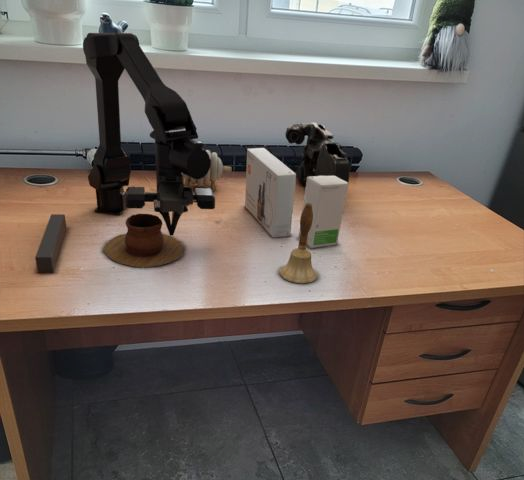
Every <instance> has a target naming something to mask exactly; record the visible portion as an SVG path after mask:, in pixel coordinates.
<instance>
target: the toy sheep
mask: <svg viewBox="0 0 524 480" xmlns="http://www.w3.org/2000/svg"><path fill="white" fill-rule="evenodd" d="M203 150H205V151H206V152H207V153H208V155H209V157H210V160H211V166H210V169H209V171H208V173H207V174H206V176H204V177H203V178H201V179H193V178H191V177H189V176H187V175H185V174H184V184H185V187H191V184H192V185H196V184H197V186H198V188H203V187H209V186H210V188H211V190H212V191H213V192H214V191H216V181H217V180H219V179H220V178H221V176H222V175H223V173H231V172H232V171H233V170H232V167H231V166H228V165H227V166H226V165H224V164H223V162H222V160H221V158H220V157H219V156H218V153H217V152H214V151H213V152H211V150H210V149H204V148H203Z"/></svg>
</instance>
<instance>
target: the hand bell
mask: <svg viewBox="0 0 524 480" xmlns="http://www.w3.org/2000/svg"><path fill="white" fill-rule="evenodd" d="M302 210H303V211H301V214H300V219H299V230H300V229H301V235H300V239H298V245H297V247H295V248H293V249H292V250H291V251H290V254H289V258H288V261H287V263H286V264H285V265H283V266H282V267H281V269H280V270H279V275H280V277H281V278H283V279H284V280H286V281H288V282H290V283H295V284H308V283H309V284H310V283H312V282H314V281H316V280H317V278H318V273H317V271H316V270H315V269H314V267H313V262H312V252H311V251H310V250H309V249H307V237H308V232H309V230H310V228H311V226H312V221H313V211H312V204H309V203H307V204H306V205H305V208H304V209H303V208H302Z"/></svg>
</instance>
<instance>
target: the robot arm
mask: <svg viewBox="0 0 524 480" xmlns="http://www.w3.org/2000/svg"><path fill="white" fill-rule="evenodd" d="M139 41H140V40H139V38H138V36H137V35H136V34H134V33H132V32H88V33H87V34H86V36H85V37H84V38H83V41H82V51H83V54H84V57H85V64H86V65H87V67H88V68H89V71H90V72H91V74H92V75H93V77H94V81H95V94H96V95H95V97H96V109H97V126H98V137H99V139H98V140H99V145H98V147H97V149H96V151H95V152H94V155H93V166H92V167H91V170H90V172H89V173H88V175H87V180H88V184H89V186H90V187H92V188H93V189H95V196H96V197H95V198H96V206H97V207H96V208H95V209H94V212H96V213H102V214H111V215H118V216H119V215H121V214H122V213H123V212H124V211H125V209H139V210H140V209H141V210H142V208H144V207H145V205H146V203H153V211H154V212H155V213H159V214H160V215H161V217H162V219H163V220H164V223H165V226H166V228H167V231H168V234H169V236H170V237H173V236H174V234H175V232H176V228H177V225H178V222H179V221H180V218H181V217H182V215H183V214H184V213H188V212H189V206H193V205H194V203H196V206H197V208H198V209H200V210H214V209H216V196H215V194H214V191H212V190H211V187H195V188H194V187H193V186H190V187H186V185H185V178H184V174H185V175H187V176H189V177H191V178H193V179H201V178H203V177H204V176H206V174H207V173H208V171H209V169H210V166H211V160H210V157H209V155H208V153H207V152H206V151H205V150H206V149H204V147H203V146H204V144H203V142H202V141H200V140H198V139H199V135H198V132H197V126H196V124H195V122H194V120H193V117H192V115H191V112H190V109H189V107H188V105H187V102H186V101H185V100H184V99H183V98H182V97H181V95H180V94H179V93H178V92H177V91H175V90H174V89H172V88H170V87H168V86H167V85H166V84H165V83H164V82H163V80H162V78H161V77H160V76H159V74H158V72H157V71H156V69H155V68H154V66H153V64H152V63H151V61H150V59H149V58H148V57H147V55H146V53H145V52H144V51H143V48H142V47H141V45H140V42H139ZM124 71H126V73H127V74H128V76H129V78H130V79H131V81H132V82H133V84H134V86H135V87H136V89H137V91H138V92H139V94H140V95H141V97H142V99H143V101H144V114H145V116H146V118H147V121H148V122H149V124H150V125H149V126H151V128H152V131H151V132H150V133H149V137H150V138H151V139H153V140H154V146H155V147H154V153H155V177H156V192H146V191H145V190H146V187H145V186H129V185H130V178H131V173H132V169H131V158H130V156H129V155H127V154H126V153H125V151H124V149H123V148H122V137H121V136H122V135H121V115H120V91H119V89H120V88H119V80H121V79H120V78H121V77H122V75H123V73H124ZM203 149H204V150H203ZM124 187H127V188H126V189H125V188H124ZM124 189H125V190H124ZM170 213H171V216H170Z"/></svg>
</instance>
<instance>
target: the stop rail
mask: <svg viewBox="0 0 524 480" xmlns="http://www.w3.org/2000/svg"><path fill="white" fill-rule="evenodd" d="M67 229H68V228H67V221H66V214H62V213H61V214H55V213H53V214H50V217H49V219H48V221H47V225H46V227H45V230H44V233H43V235H42V238H41V240H40V243H39V246H38V248H37V251H36V254H35V256H34V259H35V264H36V270H37V273H39V274H46V273H47V274H49V273H54V272H55V270H56V266H57V262H58V259H59V256H60V252H61V249H62V245H63V244H64V243H63V242H64V239H65V235H66V232H67Z"/></svg>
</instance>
